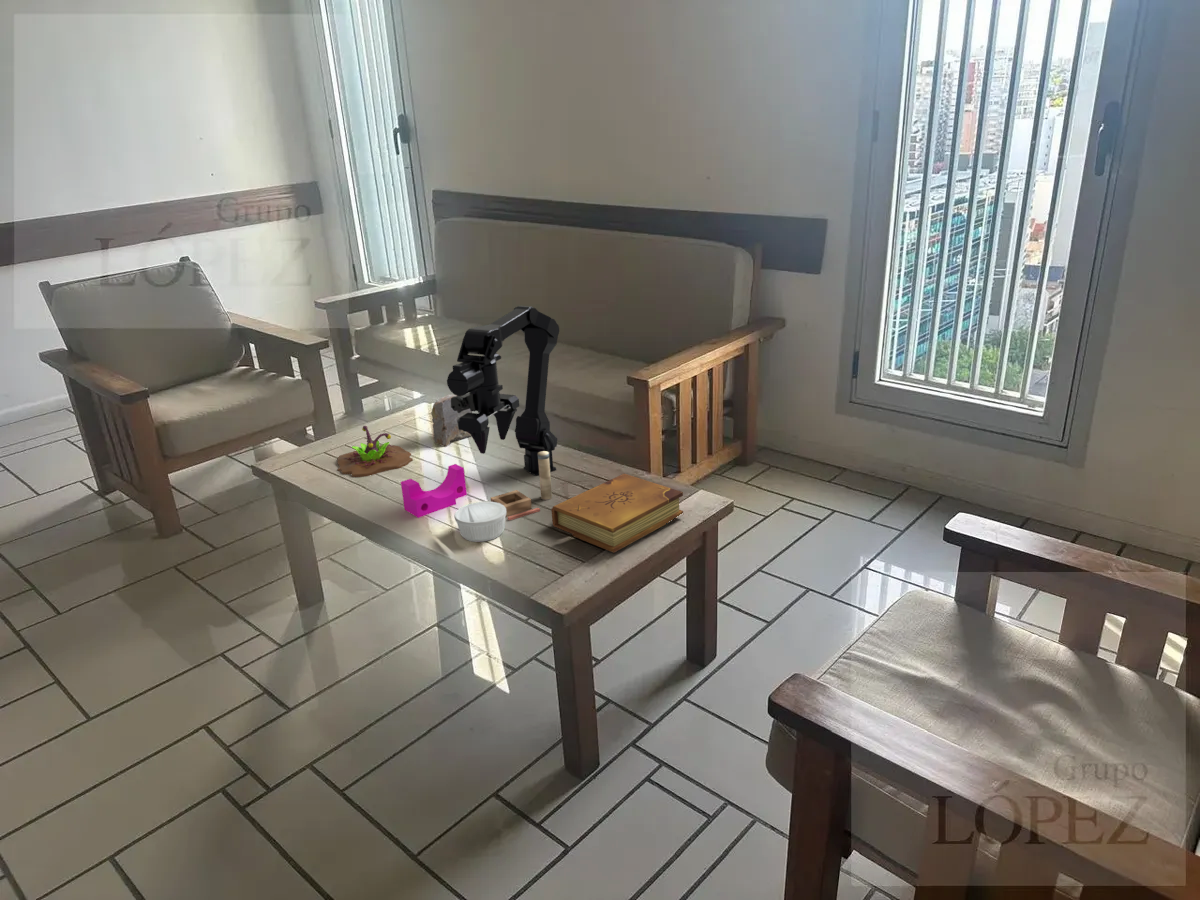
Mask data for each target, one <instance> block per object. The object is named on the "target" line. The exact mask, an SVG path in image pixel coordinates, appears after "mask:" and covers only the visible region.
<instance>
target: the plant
mask: <svg viewBox="0 0 1200 900" xmlns="http://www.w3.org/2000/svg"><path fill="white" fill-rule="evenodd" d="M361 429H362V432H366V434H365V435H366V439H367V440H366V442H367V443H362V442H360V446H356V445H355V446H353V445H352V446H351V448H352V449H354V450H353V451H351V452H347V453H343V454H341V455H338V456H339V457H338V456H337V459H336V460H337V462H336V463H337V465H338V468H337V471H338V472H340V473H341V474H342V475H351V474H352V475H351V477H352V478H364V477H365V478H366V477H370V475H371V476H374V475H376V474H380V473H384V472H389V471H393V470H399V469H401V468H403V467H407V466H408V465H409V464H410V463H411V462H413V458H412V457H411V455H412V453H411V452H410V451H407V450H406V449H405V448H403V447H401V446H399V445H393V444H390V443H391V442H390V441H387V442H384V443H382V444H380V441H379V440H380V438H381V437H384V436H385V438H386V439H387V440H390V439H391V438H392V436H391V434H390V433H389V432H388V433H387V432H385V433H380V434H378V436H377V437H376V438H375V439H374V440H373V439H372V437H371V434H370V431H369V428H368V426H367V425H363V426H362V427H361ZM355 450H356V451H355Z"/></svg>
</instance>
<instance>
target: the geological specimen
mask: <svg viewBox="0 0 1200 900" xmlns="http://www.w3.org/2000/svg"><path fill="white" fill-rule="evenodd" d="M454 396H457V395H455V394H453V393H452V394H446V395H445V396H441V397H439V398H437V400H435V402H434V404H433V405H432V408H431V412H430V414H431V417H432V418H431V421H432V423H433V424H432V431H433V432H432V433H433V442H434V444H437V445H440V446H442V447H448V446H449V445H450V443H452V442H454V441H459V440H463V439H464V438H470V437H471V438H472V436H471V435H470V434H469V433H468V432H465V431H463V430H459V429H458V425H457V420H458V419H459V418H460V417H462V416H463V415H465V414H466V413H473V411H470V409H467V410H464V411H462V412H461V413H458V412H457V411H454V410H453V409H452V408H451V398H453V397H454Z"/></svg>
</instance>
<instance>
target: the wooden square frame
mask: <svg viewBox="0 0 1200 900" xmlns="http://www.w3.org/2000/svg"><path fill="white" fill-rule="evenodd" d="M489 500H490V502H497V503H500V504H502V505H503V506H505V508H506V516H505V518H507V520H508V521H512V520H515V519H520V518H522V517H526V516H528V515H532V514H535V513H538V512H541V508H539V507H536V508H533V507H532V499H531V498H530V497H528V496H527V495H525V494H524V493H522V492H520V491H519V490H518V489H516V490H512V491H508V492H506V493H501V494H499V495H494V496H492V497H490V499H489Z"/></svg>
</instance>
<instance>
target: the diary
mask: <svg viewBox="0 0 1200 900" xmlns="http://www.w3.org/2000/svg"><path fill="white" fill-rule="evenodd" d="M683 496H684V492H683V491H680V490H678V489H675V488H671V487H668V486H665V485H662V484H658V483H655V482H652V481H649V480H647V479H643V478H641V477H640V478H639V477H636V476H633V475H630V474H628V473H627V474H626V473H622V474H621V475H617V476H615V477H614V478H612V479H609V480H607V481H605V482H603V483H601V484H598V485H597V486H595V487H592V488H590V489H588V490H585V491H584V492H581V493H579V494H577V495H574V496H573V497H570V498H569V499H567V500H564V501H562V502H560V503H558V504H555V505H554V506H552V508H551V509H550V510H551V521H552V526H553V527H554V528H557V529H560V530H562V531H565V532H567V533H570V536H572V537H574V538H577V539H579V540H581V541H584V542H586V543H589V544H591V545H594V546H596V547H599V548H601V549H603V550H606V551H609V552H611V553H613V554H614V553H617V552H618V551H620V550H621V549H623V548H625V547H627V546H629V545H631V544H632V543H634V542H637V541H638V540H639V539H641V538H643V537H645V536H647V535H650V534H651V533H653V532H655V531H656V530H658V529H660V528H662V527H664V526H665V525H667V524H668V522H669V521H671V520H673V519H674V518H676V517H677V516H679V515H680V514H682V513H683V514H684V510H681V509H680V498H681V497H683ZM676 519H677V518H676ZM674 520H675V519H674ZM674 520H673V521H674ZM671 522H672V521H671ZM666 523H667V524H666ZM669 523H670V522H669Z"/></svg>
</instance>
